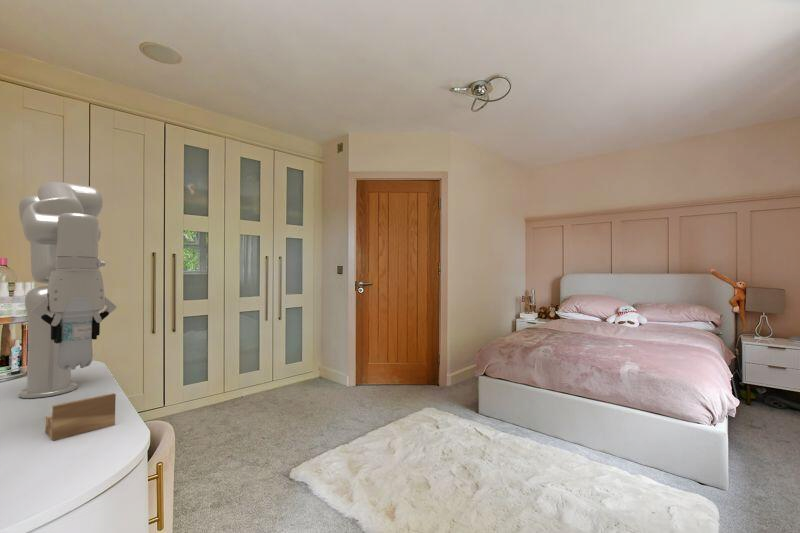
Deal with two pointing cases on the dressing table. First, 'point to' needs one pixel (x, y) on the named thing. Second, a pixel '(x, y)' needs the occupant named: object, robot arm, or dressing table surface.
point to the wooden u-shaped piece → (80, 416)
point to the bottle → (76, 334)
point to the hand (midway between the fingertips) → (75, 340)
